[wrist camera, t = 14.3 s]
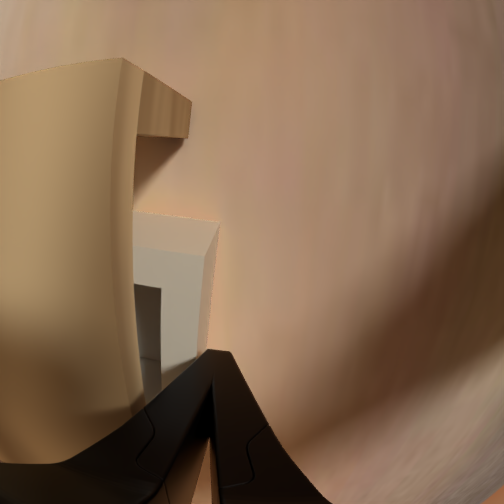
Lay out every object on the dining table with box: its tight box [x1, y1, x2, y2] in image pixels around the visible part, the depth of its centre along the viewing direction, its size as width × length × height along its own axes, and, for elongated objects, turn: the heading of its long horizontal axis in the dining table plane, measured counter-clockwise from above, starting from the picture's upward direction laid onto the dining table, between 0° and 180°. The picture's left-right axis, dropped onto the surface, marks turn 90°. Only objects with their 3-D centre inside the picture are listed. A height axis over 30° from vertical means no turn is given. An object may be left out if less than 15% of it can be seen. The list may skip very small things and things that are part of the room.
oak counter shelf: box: [0, 58, 192, 464], centre depth 9 cm, size 12×14×6 cm
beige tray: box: [133, 211, 220, 405], centre depth 10 cm, size 10×6×4 cm, turn 82°
